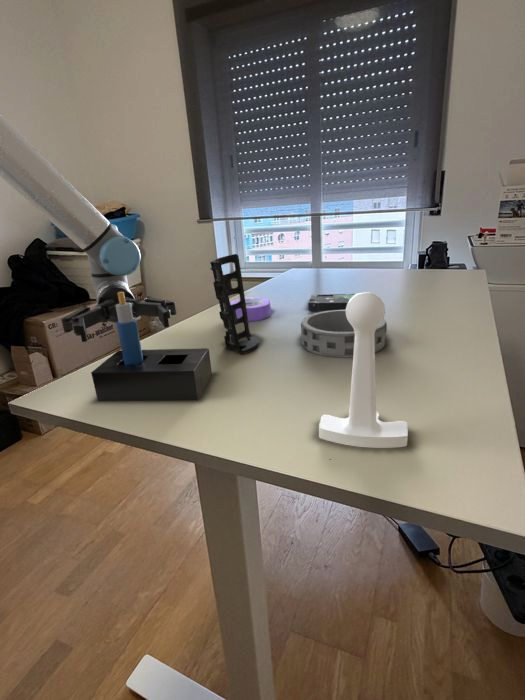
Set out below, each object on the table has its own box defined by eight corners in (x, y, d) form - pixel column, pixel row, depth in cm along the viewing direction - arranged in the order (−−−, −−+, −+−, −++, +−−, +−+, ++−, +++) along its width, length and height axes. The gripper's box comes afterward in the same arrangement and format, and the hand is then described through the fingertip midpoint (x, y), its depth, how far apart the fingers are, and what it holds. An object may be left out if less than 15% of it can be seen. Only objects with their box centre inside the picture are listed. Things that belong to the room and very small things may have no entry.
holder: (258, 353, 86) (241, 258, 79) (223, 358, 86) (203, 264, 80) (260, 336, 96) (245, 251, 89) (229, 341, 97) (211, 257, 90)
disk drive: (308, 312, 114) (362, 311, 111) (307, 303, 113) (362, 301, 110) (311, 303, 123) (361, 302, 120) (310, 294, 122) (361, 292, 119)
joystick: (317, 446, 53) (314, 297, 46) (325, 417, 60) (323, 283, 53) (407, 456, 50) (418, 297, 43) (404, 424, 57) (414, 282, 50)
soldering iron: (127, 395, 71) (106, 294, 65) (134, 387, 74) (115, 290, 68) (144, 394, 71) (125, 294, 65) (151, 386, 74) (133, 289, 68)
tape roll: (274, 319, 110) (273, 305, 109) (231, 323, 108) (230, 309, 107) (267, 308, 121) (266, 295, 119) (228, 312, 119) (227, 299, 118)
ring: (291, 335, 96) (290, 315, 94) (361, 325, 99) (361, 305, 98) (319, 363, 79) (319, 339, 77) (403, 349, 83) (404, 326, 81)
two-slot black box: (198, 404, 66) (193, 370, 64) (98, 404, 69) (91, 372, 67) (212, 378, 76) (208, 348, 74) (124, 379, 78) (118, 350, 76)
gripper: (176, 309, 93) (200, 334, 74) (56, 329, 84) (50, 362, 66) (171, 276, 90) (194, 294, 72) (47, 293, 81) (38, 317, 63)
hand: (125, 326), depth 69 cm, fingers open, 13 cm apart
